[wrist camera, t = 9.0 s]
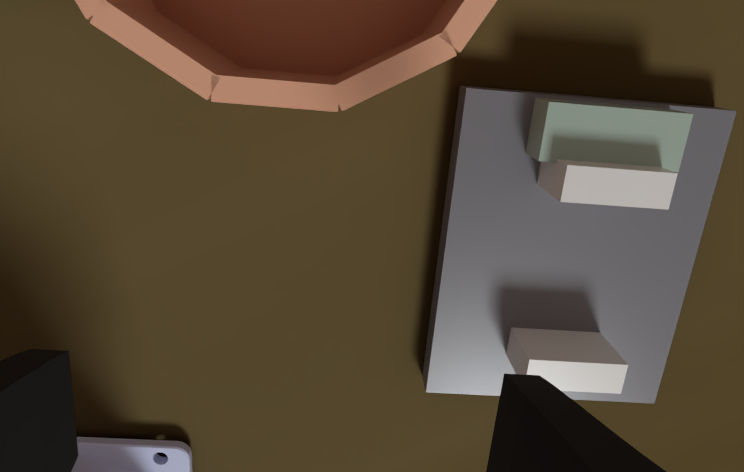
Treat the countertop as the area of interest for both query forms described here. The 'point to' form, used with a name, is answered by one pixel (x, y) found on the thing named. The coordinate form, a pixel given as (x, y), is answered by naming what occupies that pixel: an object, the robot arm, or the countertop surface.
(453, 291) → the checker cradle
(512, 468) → the robot arm
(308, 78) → the cup
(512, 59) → the countertop surface
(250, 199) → the countertop surface
